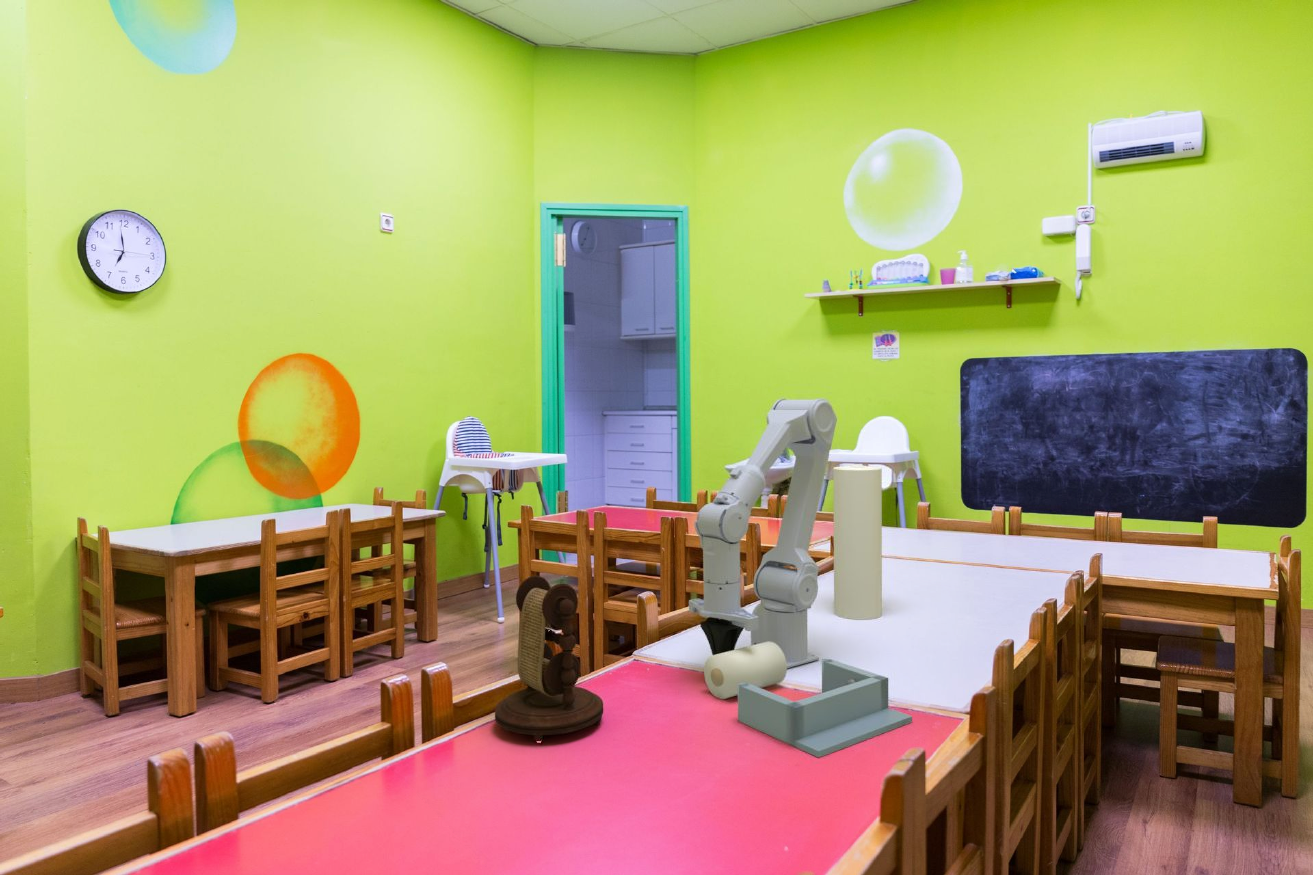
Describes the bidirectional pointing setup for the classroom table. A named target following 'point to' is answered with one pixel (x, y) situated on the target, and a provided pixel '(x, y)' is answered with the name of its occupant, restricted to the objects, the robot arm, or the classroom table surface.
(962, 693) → the classroom table surface
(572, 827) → the classroom table surface
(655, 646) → the classroom table surface
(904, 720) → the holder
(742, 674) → the cylinder
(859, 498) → the cylinder container
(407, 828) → the classroom table surface
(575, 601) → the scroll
